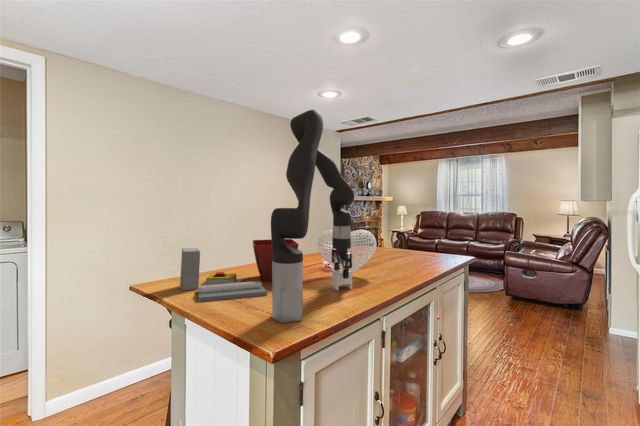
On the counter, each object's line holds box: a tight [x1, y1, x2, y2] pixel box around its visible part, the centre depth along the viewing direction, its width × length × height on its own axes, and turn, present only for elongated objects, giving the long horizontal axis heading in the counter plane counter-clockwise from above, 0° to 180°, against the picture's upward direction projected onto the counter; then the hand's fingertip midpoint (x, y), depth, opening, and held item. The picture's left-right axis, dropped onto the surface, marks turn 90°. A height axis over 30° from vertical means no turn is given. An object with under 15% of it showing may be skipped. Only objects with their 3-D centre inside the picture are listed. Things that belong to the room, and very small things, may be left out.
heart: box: [317, 229, 378, 275], centre depth 154 cm, size 28×16×22 cm, turn 98°
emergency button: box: [202, 271, 242, 285], centre depth 142 cm, size 9×4×15 cm
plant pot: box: [252, 238, 299, 283], centre depth 149 cm, size 19×19×17 cm
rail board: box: [197, 285, 268, 303], centre depth 124 cm, size 14×24×2 cm, turn 111°
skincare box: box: [179, 247, 201, 291], centre depth 132 cm, size 8×7×16 cm
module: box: [331, 269, 353, 291], centre depth 133 cm, size 7×5×7 cm
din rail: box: [200, 280, 263, 293], centre depth 124 cm, size 4×22×2 cm, turn 111°
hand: (341, 275), depth 134 cm, fingers open, 8 cm apart
